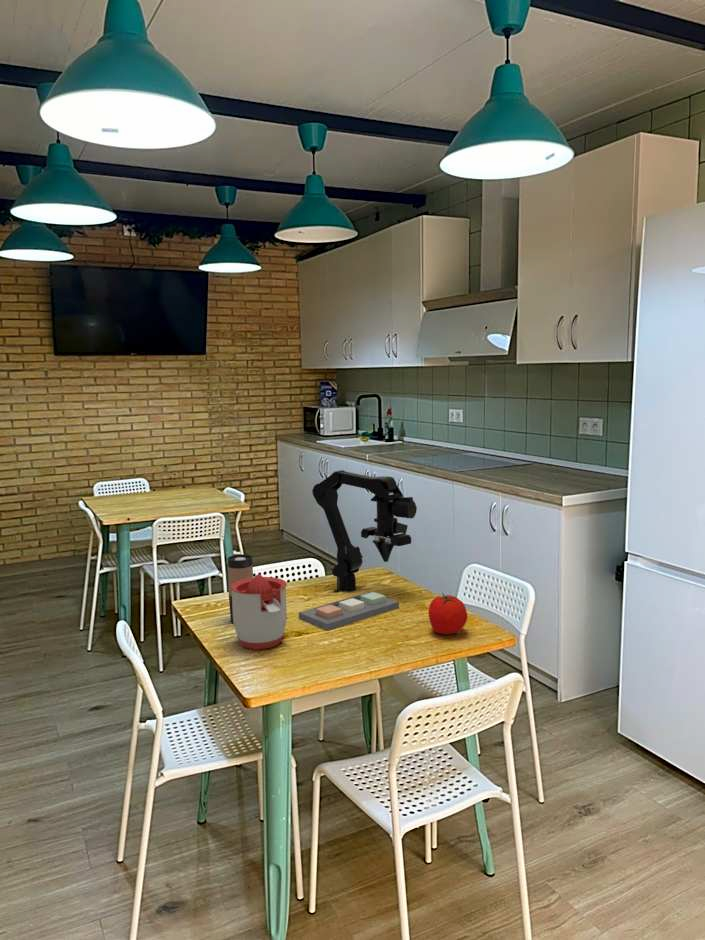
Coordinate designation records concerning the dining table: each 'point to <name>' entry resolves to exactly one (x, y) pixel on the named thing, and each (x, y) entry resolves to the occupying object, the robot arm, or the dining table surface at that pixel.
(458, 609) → the tomato
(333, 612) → the key terracotta
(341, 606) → the key offwhite
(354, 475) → the robot arm
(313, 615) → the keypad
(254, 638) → the citrus juicer
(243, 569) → the travel mug
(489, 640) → the dining table surface
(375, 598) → the key sage
